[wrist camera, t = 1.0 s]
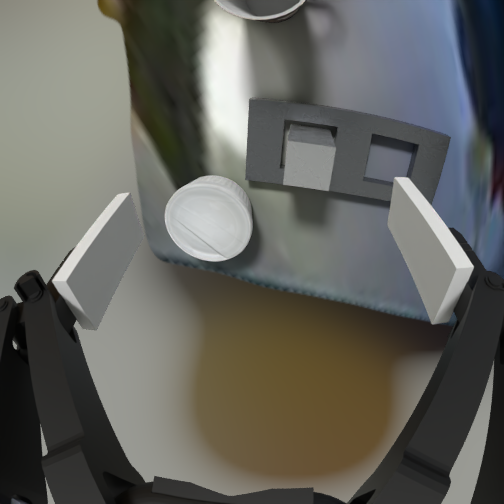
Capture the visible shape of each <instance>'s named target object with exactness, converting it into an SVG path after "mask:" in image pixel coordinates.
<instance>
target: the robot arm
mask: <svg viewBox="0 0 504 504" xmlns="http://www.w3.org/2000/svg"><path fill="white" fill-rule="evenodd" d="M387 226H388V227H389V229H390V231H391V233H392V235H393V237H394V239H395V241H396V243H397V245H398V247H399V249H400V251H401V253H402V256H403V258H404V260H405V262H406V264H407V266H408V268H409V271H410V273H411V275H412V277H413V279H414V282H415V284H416V286H417V289H418V291H419V293H420V296H421V298H422V300H423V303H424V305H425V308H426V310H427V313H428V315H429V318H430V320H431V323H432V324H438V323H445V322H449V320H450V318H451V316H452V314H453V312H455V315H456V317H457V321H456V323H455V324H454V326H453V328H452V330H451V332H450V333H449V335H448V338H449V340H448V342H447V344H446V347H445V349H444V351H443V354H442V356H441V358H440V360H439V363H438V365H437V367H436V369H435V371H434V373H433V375H432V377H431V380H430V381H429V384H428V385H427V387H426V389H425V391H424V393H423V395H422V397H421V399H420V401H419V403H418V404H417V406H416V408H415V410H414V412H413V414H412V415H411V417H410V418H409V420H408V422H407V424H406V425H405V427H404V429H403V430H402V432H401V433H400V435H399V437H398V438H397V440H396V441H395V443H394V445H393V446H392V447H391V449H390V450H389V452H388V453H387V455H386V456H385V458H384V459H383V461H382V462H381V464H380V465H379V466H378V468H377V469H376V470H375V472H374V473H373V474H372V475H371V476H370V477H369V478H368V480H367V481H366V482H365V483H364V484H363V485H362V486H361V487H360V489H359V490H358V491H357V492H356V493H355V494H354V496H353V497H352V498H351V499H350V500H349V502H348V503H347V504H441V502H442V501H443V499H444V497H445V496H446V494H447V492H448V490H449V487H450V483H451V480H450V477H449V474H450V471H451V469H452V467H453V465H454V463H455V461H456V459H457V457H458V455H459V453H460V451H461V449H462V446H463V444H464V442H465V440H466V438H467V435H468V433H469V431H470V428H471V426H472V423H473V421H474V418H475V416H476V413H477V411H478V408H479V405H480V403H481V400H482V397H483V394H484V391H485V388H486V385H487V382H488V378H489V375H490V372H491V368H492V365H493V361H494V379H493V393H492V404H491V412H490V420H489V427H488V433H487V439H486V445H485V450H484V455H483V460H482V464H481V468H480V472H479V476H478V480H477V484H476V487H475V491H474V494H473V497H472V501H471V504H504V280H503V279H502V278H501V276H499V275H498V274H496V273H494V272H491V271H486V269H485V268H484V266H483V265H482V263H481V262H480V260H479V259H478V257H477V256H476V254H475V253H474V251H472V248H471V247H470V245H469V244H467V241H466V240H465V238H464V237H463V236H462V234H460V233H459V232H458V231H457V230H455V229H454V228H447V226H446V225H445V224H444V222H443V221H442V219H441V218H440V217H439V215H438V214H437V213H436V211H435V210H434V209H433V208H432V206H431V205H430V204H429V202H428V201H427V200H426V199H425V197H424V196H423V195H422V194H421V192H420V191H419V190H418V189H417V188H416V186H415V185H414V184H413V183H412V182H411V180H410V179H409V178H405V177H394V183H393V191H392V198H391V205H390V211H389V218H388V224H387ZM143 238H144V233H143V231H142V227H141V225H140V221H139V219H138V216H137V212H136V209H135V207H134V203H133V200H132V197H131V193H123V194H118V195H117V196H116V197H115V198H114V199H113V201H112V202H111V203H110V204H109V205H108V206H107V208H106V209H105V210H104V211H103V213H102V214H101V215H100V216H99V218H98V219H97V220H96V221H95V223H94V224H93V225H92V226H91V228H90V229H89V230H88V232H87V233H86V234H85V236H84V237H83V238H82V239H81V241H80V242H79V244H78V245H77V246H76V247H74V248H73V249H72V250H71V251H70V252H69V253H68V255H67V256H66V257H65V258H64V261H62V263H61V264H60V267H58V268H57V270H56V271H55V273H54V274H53V276H52V277H51V279H50V280H49V282H48V283H47V285H46V284H45V282H44V281H43V279H42V277H41V276H40V274H39V272H38V271H36V270H32V271H29V272H27V273H25V274H24V275H22V276H21V277H20V278H19V279H18V281H17V282H16V284H15V287H14V289H15V291H16V292H17V294H18V295H19V297H20V298H21V300H22V301H23V302H21V303H16V302H15V301H14V299H13V297H12V296H5V297H3V298H1V299H0V504H48V500H47V489H46V481H45V477H46V480H47V483H48V486H49V489H50V492H51V494H52V497H53V499H54V502H55V504H346V503H345V502H342V501H341V500H339V499H337V498H334V497H332V496H329V495H325V494H322V493H317V492H313V488H295V489H294V488H293V489H269V490H264V491H259V492H254V493H249V494H242V495H236V496H227V495H223V494H220V493H217V492H215V491H212V490H209V489H206V488H203V487H201V486H198V485H195V484H193V483H190V482H184V481H178V480H172V479H167V478H162V477H157V476H155V477H154V482H147V483H146V482H145V481H144V479H143V478H142V476H141V475H140V474H139V473H138V472H137V471H136V469H135V468H134V467H132V465H131V464H130V462H129V461H128V459H127V457H126V455H125V453H124V451H123V449H122V447H121V445H120V443H119V441H118V439H117V437H116V435H115V433H114V431H113V428H112V426H111V424H110V422H109V419H108V417H107V415H106V412H105V410H104V408H103V405H102V403H101V400H100V398H99V395H98V393H97V390H96V387H95V385H94V382H93V379H92V377H91V374H90V371H89V368H88V365H87V362H86V359H85V356H84V353H83V350H82V347H81V344H80V340H79V337H78V333H77V331H76V329H75V328H74V324H75V322H76V320H77V321H78V322H79V324H80V325H81V327H82V328H83V329H89V330H97V329H98V326H99V324H100V322H101V320H102V318H103V316H104V313H105V311H106V309H107V307H108V305H109V303H110V301H111V299H112V297H113V295H114V293H115V291H116V289H117V287H118V285H119V283H120V281H121V279H122V277H123V275H124V273H125V271H126V269H127V267H128V265H129V264H130V262H131V260H132V258H133V256H134V254H135V252H136V251H137V249H138V247H139V245H140V243H141V241H142V240H143ZM13 341H14V342H15V343H16V344H17V349H14V347H13ZM40 423H41V427H42V431H43V435H44V439H45V442H46V446H47V450H48V453H47V455H45V456H42V445H41V429H40Z"/></svg>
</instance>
